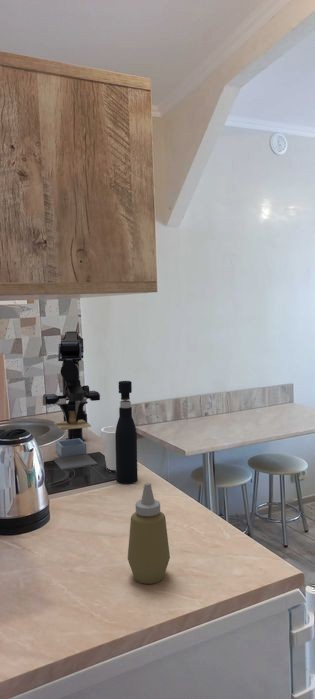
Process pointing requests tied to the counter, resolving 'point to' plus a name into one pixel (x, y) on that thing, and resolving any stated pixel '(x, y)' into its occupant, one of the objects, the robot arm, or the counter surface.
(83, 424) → the lid
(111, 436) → the foam cup
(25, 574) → the counter surface
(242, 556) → the counter surface
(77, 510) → the counter surface
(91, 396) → the robot arm
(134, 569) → the squeeze bottle
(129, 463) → the black bottle
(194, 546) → the counter surface
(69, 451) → the dish
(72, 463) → the mat
